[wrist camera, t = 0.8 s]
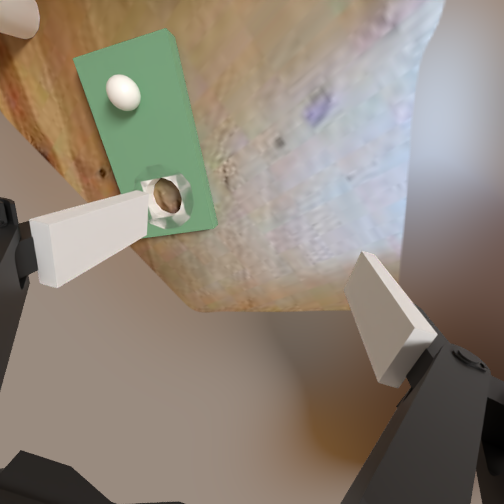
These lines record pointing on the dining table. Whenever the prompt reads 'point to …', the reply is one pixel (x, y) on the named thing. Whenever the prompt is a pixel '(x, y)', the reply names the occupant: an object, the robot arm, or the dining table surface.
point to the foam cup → (19, 18)
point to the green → (151, 129)
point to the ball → (123, 92)
